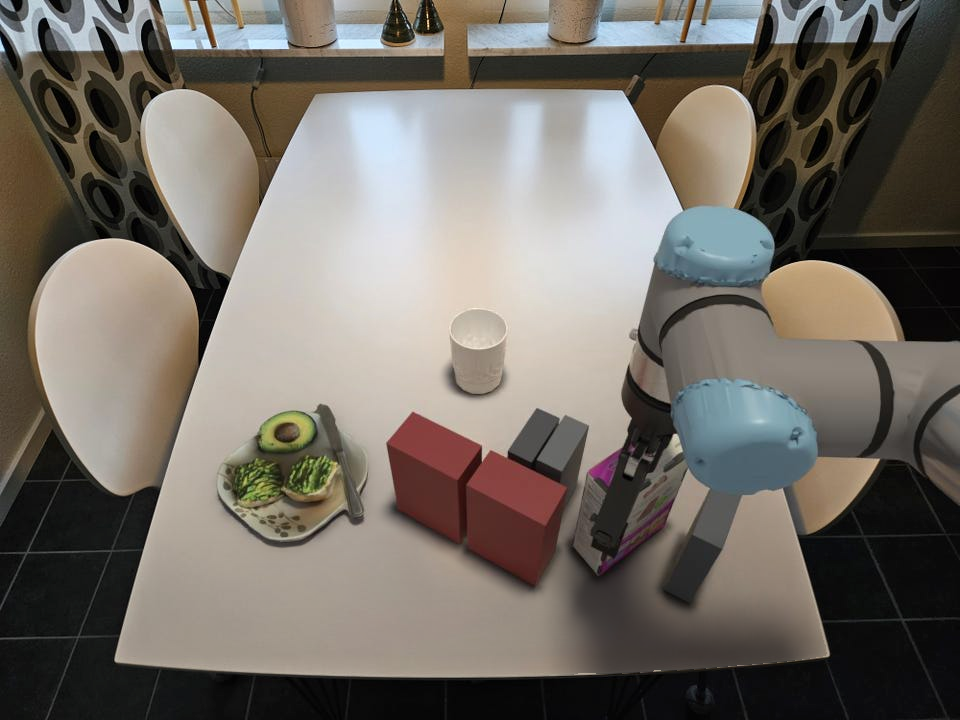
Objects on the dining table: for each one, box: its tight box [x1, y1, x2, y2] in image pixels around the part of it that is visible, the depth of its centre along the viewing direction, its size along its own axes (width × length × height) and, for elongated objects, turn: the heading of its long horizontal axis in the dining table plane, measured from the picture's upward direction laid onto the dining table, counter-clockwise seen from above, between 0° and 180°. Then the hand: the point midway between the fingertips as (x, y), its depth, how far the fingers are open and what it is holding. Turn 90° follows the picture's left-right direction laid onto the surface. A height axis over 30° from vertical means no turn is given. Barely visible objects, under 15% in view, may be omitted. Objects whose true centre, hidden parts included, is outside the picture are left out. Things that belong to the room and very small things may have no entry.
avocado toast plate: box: [216, 403, 369, 543], centre depth 80 cm, size 19×18×5 cm
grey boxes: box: [506, 407, 743, 604], centre depth 73 cm, size 7×24×13 cm, turn 59°
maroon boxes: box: [385, 411, 567, 587], centre depth 72 cm, size 5×19×14 cm, turn 59°
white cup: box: [448, 307, 509, 395], centre depth 90 cm, size 8×8×10 cm
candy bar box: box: [572, 434, 689, 577], centre depth 71 cm, size 11×5×16 cm, turn 126°
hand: (628, 499), depth 71 cm, fingers open, 13 cm apart
